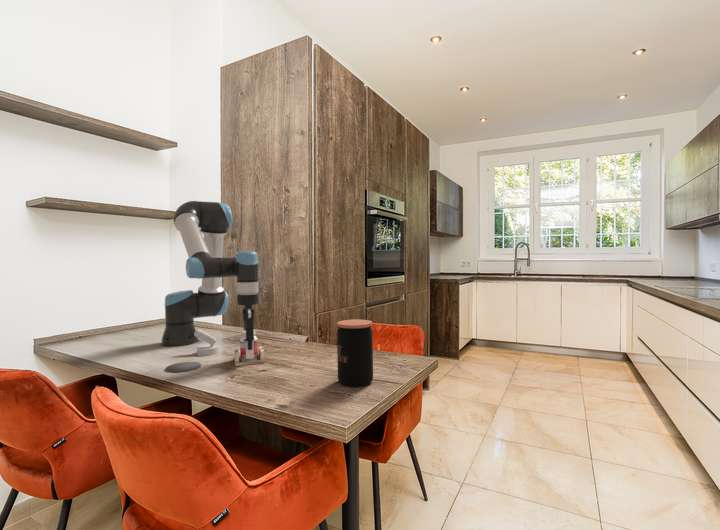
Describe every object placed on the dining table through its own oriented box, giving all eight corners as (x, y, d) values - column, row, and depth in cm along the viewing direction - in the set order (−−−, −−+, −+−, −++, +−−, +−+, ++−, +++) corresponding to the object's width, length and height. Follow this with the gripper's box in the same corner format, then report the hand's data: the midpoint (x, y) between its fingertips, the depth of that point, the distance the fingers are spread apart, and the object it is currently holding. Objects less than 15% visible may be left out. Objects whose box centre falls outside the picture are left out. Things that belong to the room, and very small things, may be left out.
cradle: (234, 358, 144) (234, 348, 144) (261, 356, 147) (261, 345, 147) (235, 366, 134) (235, 354, 134) (264, 362, 138) (264, 351, 138)
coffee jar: (337, 377, 120) (336, 319, 119) (371, 375, 121) (370, 318, 120) (338, 388, 109) (337, 325, 109) (375, 387, 110) (374, 324, 110)
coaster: (168, 365, 136) (168, 363, 136) (201, 362, 140) (201, 360, 140) (164, 374, 126) (163, 372, 126) (200, 370, 130) (200, 368, 130)
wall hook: (201, 327, 159) (223, 327, 157) (202, 350, 159) (224, 350, 157) (188, 331, 151) (211, 331, 149) (189, 355, 151) (211, 356, 149)
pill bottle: (256, 357, 145) (255, 328, 145) (259, 361, 139) (258, 331, 139) (239, 360, 142) (238, 330, 142) (241, 364, 137) (241, 333, 136)
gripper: (235, 292, 148) (237, 351, 148) (238, 296, 130) (239, 364, 130) (255, 291, 151) (257, 349, 151) (261, 295, 133) (262, 361, 133)
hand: (249, 356), depth 141 cm, fingers closed on pill bottle, 6 cm apart
